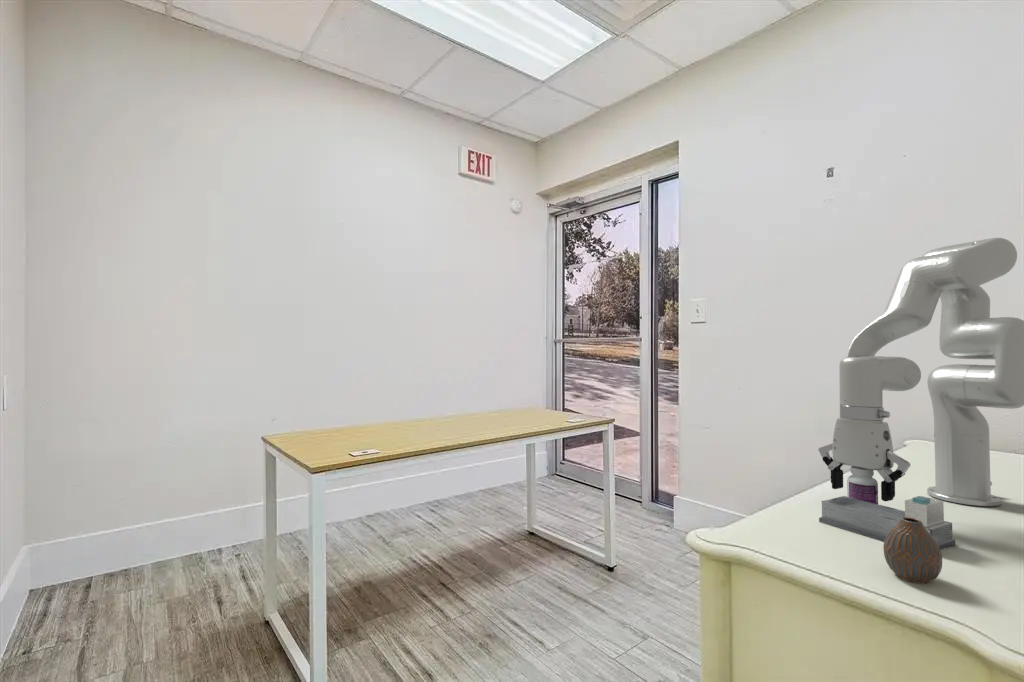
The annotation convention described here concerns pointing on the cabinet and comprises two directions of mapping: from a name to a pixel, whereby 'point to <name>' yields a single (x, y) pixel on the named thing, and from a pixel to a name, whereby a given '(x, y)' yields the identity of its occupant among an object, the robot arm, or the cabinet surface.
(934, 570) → the vase
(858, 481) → the pill bottle
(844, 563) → the cabinet surface
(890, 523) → the grey tray
